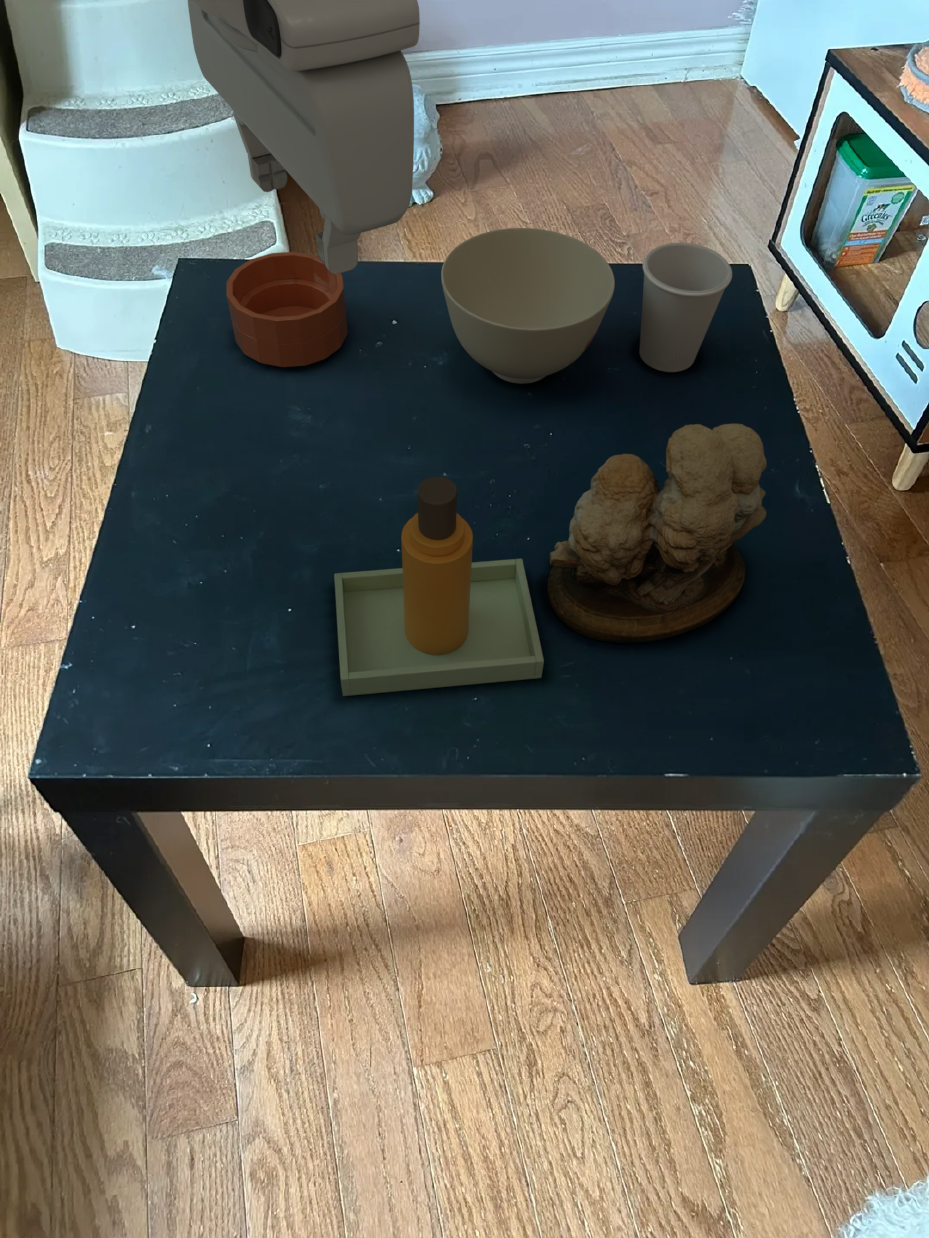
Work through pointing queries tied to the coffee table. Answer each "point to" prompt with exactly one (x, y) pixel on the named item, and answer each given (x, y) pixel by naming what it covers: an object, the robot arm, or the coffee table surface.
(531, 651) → the tray
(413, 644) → the bottle
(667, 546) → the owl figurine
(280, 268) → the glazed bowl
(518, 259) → the bowl
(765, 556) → the coffee table surface
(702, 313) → the dixie cup
